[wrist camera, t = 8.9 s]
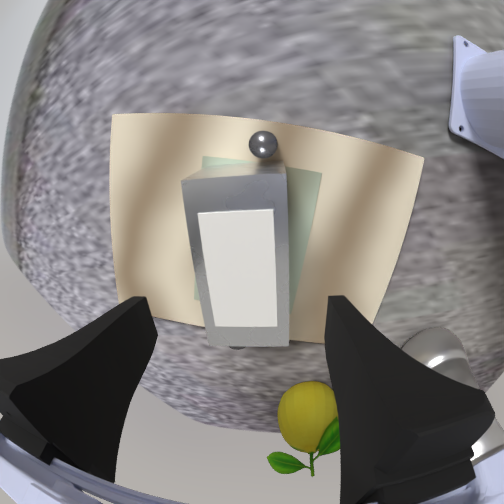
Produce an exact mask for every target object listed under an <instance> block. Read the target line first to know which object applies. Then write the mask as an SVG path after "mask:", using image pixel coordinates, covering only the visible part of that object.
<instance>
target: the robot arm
mask: <svg viewBox="0 0 504 504" xmlns="http://www.w3.org/2000/svg"><path fill="white" fill-rule="evenodd" d="M464 43H465V45H466V46H465V45H464ZM453 45H454V59H453V85H452V98H451V108H450V117H449V129H450V131H451V132H452V133H454V134H456V135H458V136H460V137H462V138H465V139H467V140H469V141H471V142H473V143H475V144H477V145H479V146H481V147H482V148H484V149H486V150H488V151H490V152H492V153H494V154H495V155H497V156H499V157H501V158H502V159H504V50H500V51H495V52H490V53H487V52H485V51H484V50H482V49H481V48H479V47H478V46H476V45H474V44H473V43H471V42H470V41H468V40H466V39H465V38H463V37H461V36H459V35H457V36H455V37H454V39H453ZM459 126H460V127H461V132H460V131H459ZM157 337H158V333H157V330H156V327H155V324H154V321H153V318H152V315H151V311H150V308H149V305H148V301H147V298H146V297H145V296H133V297H131V298H129V299H127V300H125V301H124V302H122V303H120V304H119V305H117V306H116V307H114V308H113V309H111V310H110V311H108V312H107V313H105V314H103V315H102V316H100V317H99V318H97V319H96V320H94V321H93V322H91V323H89V324H88V325H86V326H84V327H83V328H81V329H79V330H78V331H76V332H74V333H73V334H71V335H69V336H67V337H65V338H63V339H61V340H59V341H57V342H55V343H53V344H50V345H47V346H45V347H42V348H40V349H37V350H35V351H32V352H29V353H25V354H22V355H18V356H14V357H10V358H4V359H0V413H1V414H2V415H3V417H2V418H1V420H0V487H1V488H2V489H3V490H4V491H5V492H6V493H7V494H8V495H9V496H10V497H11V498H12V499H13V500H14V501H15V502H17V504H102V503H101V502H99V501H98V500H96V499H94V498H92V497H90V496H89V495H87V494H85V493H83V491H85V492H87V493H90V494H92V495H94V496H96V497H99V498H101V499H104V500H106V501H109V502H111V503H114V504H187V503H181V502H177V501H172V500H168V499H164V498H160V497H155V496H152V495H148V494H145V493H141V492H138V491H134V490H131V489H128V488H125V487H122V486H119V485H116V484H114V482H115V472H116V462H117V455H118V449H119V443H120V438H121V434H122V429H123V426H124V421H125V418H126V415H127V411H128V408H129V405H130V402H131V399H132V397H133V394H134V392H135V390H136V388H137V385H138V384H139V382H140V379H141V377H142V375H143V373H144V371H145V369H146V367H147V365H148V362H149V360H150V358H151V356H152V353H153V350H154V347H155V344H156V340H157ZM324 340H325V350H326V360H327V364H328V369H329V373H330V378H331V382H332V387H333V391H334V396H335V400H336V405H337V412H338V420H339V434H340V452H341V453H340V454H341V491H340V504H504V449H502V450H500V451H498V452H496V453H494V454H493V455H491V456H489V457H487V458H485V459H483V460H481V461H479V462H478V463H476V464H475V465H472V462H471V458H473V457H474V454H475V453H474V450H473V447H472V446H473V445H474V444H475V443H476V442H477V441H478V440H479V439H480V438H481V437H482V435H483V434H484V433H485V432H486V431H487V430H488V429H489V427H490V426H491V425H492V423H493V420H494V418H495V412H494V410H493V408H492V406H491V404H490V402H489V400H488V398H487V396H486V394H485V392H484V391H483V390H480V389H477V388H474V387H471V386H468V385H466V384H463V383H460V382H457V381H455V380H453V379H451V378H449V377H446V376H444V375H442V374H440V373H438V372H436V371H434V370H432V369H431V368H429V367H427V366H426V365H424V364H422V363H421V362H419V361H417V360H416V359H414V358H413V357H411V356H410V355H408V354H407V353H405V352H404V351H403V350H401V349H400V348H399V347H397V346H396V345H395V344H393V343H392V342H391V341H390V340H389V339H387V338H386V337H385V336H384V335H383V334H382V333H381V332H379V331H378V330H377V329H376V328H375V327H374V326H373V325H372V324H371V323H370V322H369V321H368V320H367V319H366V318H365V317H364V316H363V315H362V314H361V313H360V312H359V311H358V309H357V308H356V307H355V306H354V305H353V304H352V303H351V302H350V301H349V300H348V299H347V298H346V297H345V296H344V295H334V296H328V304H327V315H326V325H325V334H324ZM82 490H83V491H82Z"/></svg>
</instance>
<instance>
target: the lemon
mask: <svg viewBox="0 0 504 504" xmlns="http://www.w3.org/2000/svg"><path fill="white" fill-rule="evenodd" d="M278 423H279V428H280V431H281V434H282V436H283V438H284V439H285V441H286V442H287V443H288V444H289V445H290V446H291V447H292V448H294V449H296V450H298V451H300V452H306V453H308V454H310V467H308V466H305V465H304V464H303V463H301V462H300V461H299V460H298V459H296V458H295V457H293V456H291V455H289V454H286V453H283V452H273V453H271V454H270V455H269V456H268V457H267V459H268V461H269V463H270V465H271V466H272V468H273V469H274V470H275V471H277V472H278V473H281V474H290V473H294V472H296V471H298V470H301V469H302V468H309V469H310V470H311V476H314V466H313V462H314V460H315V459H316V458H318V457H319V456H321V455H325V454H330V453H333V452H336V451H338V450H339V449H340V434H339V420H338V412H337V405H336V400H335V396H334V391H333V390H332V389H331V388H330V387H329V386H327V385H326V384H324V383H321V382H315V381H309V382H302V383H299V384H296V385H294V386H292V387H291V388H290V389H288V390H287V391H286V392H285V393H284V394H283V396H282V398H281V401H280V403H279V406H278ZM317 451H319V453H318V455H317V456H316V457H315V458H314V459H313V454H314V453H316V452H317Z"/></svg>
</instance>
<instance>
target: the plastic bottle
mask: <svg viewBox="0 0 504 504" xmlns="http://www.w3.org/2000/svg"><path fill="white" fill-rule="evenodd" d="M401 350H403V351H404V352H405V353H407V354H408V355H410V356H411V357H413V358H414V359H416V360H417V361H419V362H421V363H422V364H424V365H426V366H427V367H429V368H431V369H432V370H434V371H436V372H438V373H440V374H442V375H444V376H446V377H449V378H451V379H453V380H455V381H457V382H460V383H463V384H466V385H468V386H471V387H474V388H477V389H479V386H478V384H477V382H476V379H475V377H474V374H473V372H472V370H471V367H470V365H469V362H468V358H467V354H466V352H465V349H464V347H463V344H462V342H461V340H460V339H459V338H458V337H457V336H456V335H455V334H454V333H453V332H451V331H450V330H448V329H445V328H439V327H434V328H429V329H426V330H423V331H421V332H419V333H418V334H416V335H415V336H413V337H412V338H411V339H410V340H409V341H408V342H407V343H406V344H405V345H404V346H403V348H402V349H401ZM472 447H473V450H474V453H475V454H474V457H473V458H471V462H472V465H475V464H476V463H478V462H479V461H481V460H483V459H485V458H487V457H489V456H491V455H493V454H494V453H496V452H498V451H500V450H502V449H504V430H503V428H502V427H501V425H500V424H499V422H498V421H497V419H496V418H494V420H493V423H492V425H491V426H490V427H489V429H488V430H487V431H486V432H485V433H484V434H483V435H482V437H481V438H480V439H479V440H478V441H477V442H476V443H475V444H474V445H473V446H472Z"/></svg>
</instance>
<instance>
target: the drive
mask: <svg viewBox="0 0 504 504" xmlns="http://www.w3.org/2000/svg"><path fill="white" fill-rule="evenodd" d="M181 187H182V194H183V202H184V209H185V216H186V223H187V230H188V236H189V242H190V249H191V255H192V261H193V266H194V272H195V278H196V283H197V289H198V294H199V299H200V304H201V309H202V314H203V319H204V324H205V329H206V334H207V338H208V343H209V346H245V347H273V346H289V237H288V202H287V176H286V170H285V166H284V162H283V161H270V162H251V163H236V164H223V165H211V166H206V167H205V168H203V169H201V170H199V171H197V172H195V173H194V174H192V175H190V176H188V177H186V178H184V179H183V180H181Z"/></svg>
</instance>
